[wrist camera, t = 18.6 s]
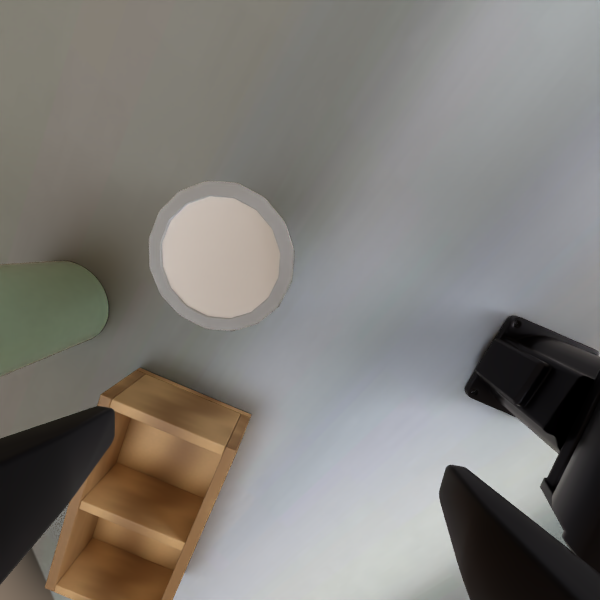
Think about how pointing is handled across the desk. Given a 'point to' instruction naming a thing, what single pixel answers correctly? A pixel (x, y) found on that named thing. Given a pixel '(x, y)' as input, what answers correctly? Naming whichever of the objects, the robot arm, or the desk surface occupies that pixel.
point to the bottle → (47, 310)
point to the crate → (146, 492)
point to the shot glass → (221, 255)
